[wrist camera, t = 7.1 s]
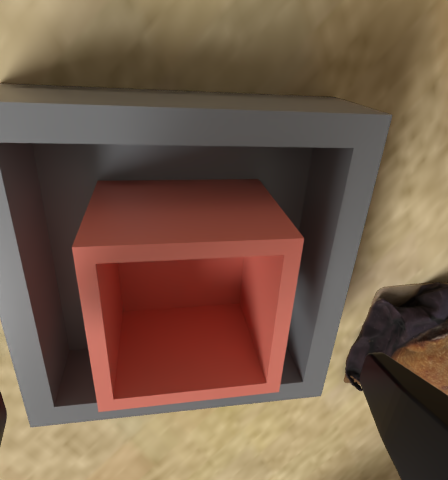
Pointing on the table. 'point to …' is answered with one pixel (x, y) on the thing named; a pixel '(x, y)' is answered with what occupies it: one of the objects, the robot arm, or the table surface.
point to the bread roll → (406, 332)
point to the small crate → (185, 290)
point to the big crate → (170, 168)
